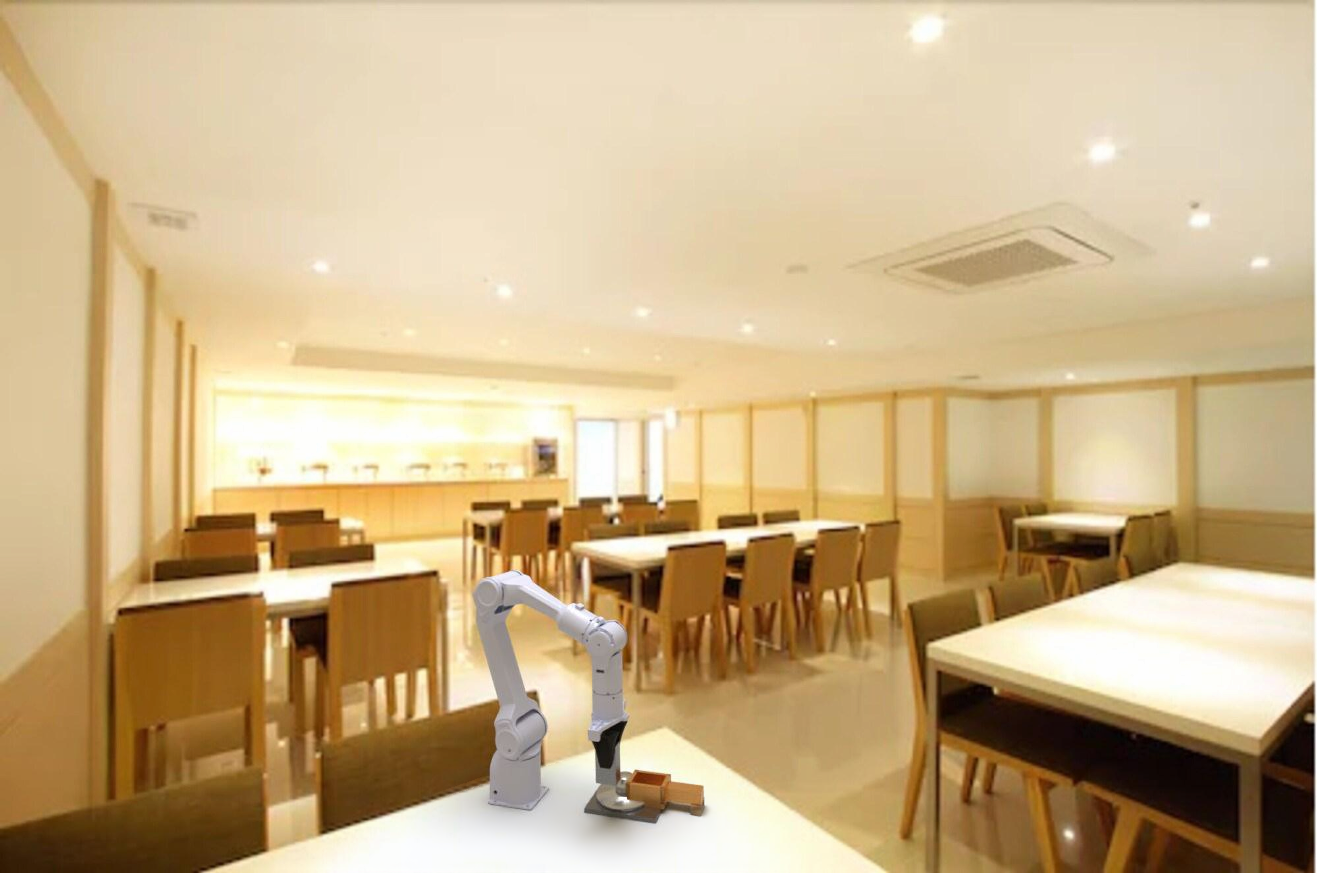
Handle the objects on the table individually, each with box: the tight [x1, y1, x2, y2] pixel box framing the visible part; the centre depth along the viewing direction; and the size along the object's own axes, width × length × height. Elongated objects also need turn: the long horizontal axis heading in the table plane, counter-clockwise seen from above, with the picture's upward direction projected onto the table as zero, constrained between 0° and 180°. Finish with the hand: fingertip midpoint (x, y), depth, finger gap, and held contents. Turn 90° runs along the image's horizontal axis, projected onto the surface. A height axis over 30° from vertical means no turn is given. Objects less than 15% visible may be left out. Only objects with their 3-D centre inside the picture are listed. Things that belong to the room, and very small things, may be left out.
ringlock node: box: [583, 769, 705, 824], centre depth 119 cm, size 22×12×5 cm, turn 74°
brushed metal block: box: [594, 741, 621, 786], centre depth 114 cm, size 4×2×7 cm, turn 74°
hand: (608, 763), depth 114 cm, fingers closed on brushed metal block, 2 cm apart
